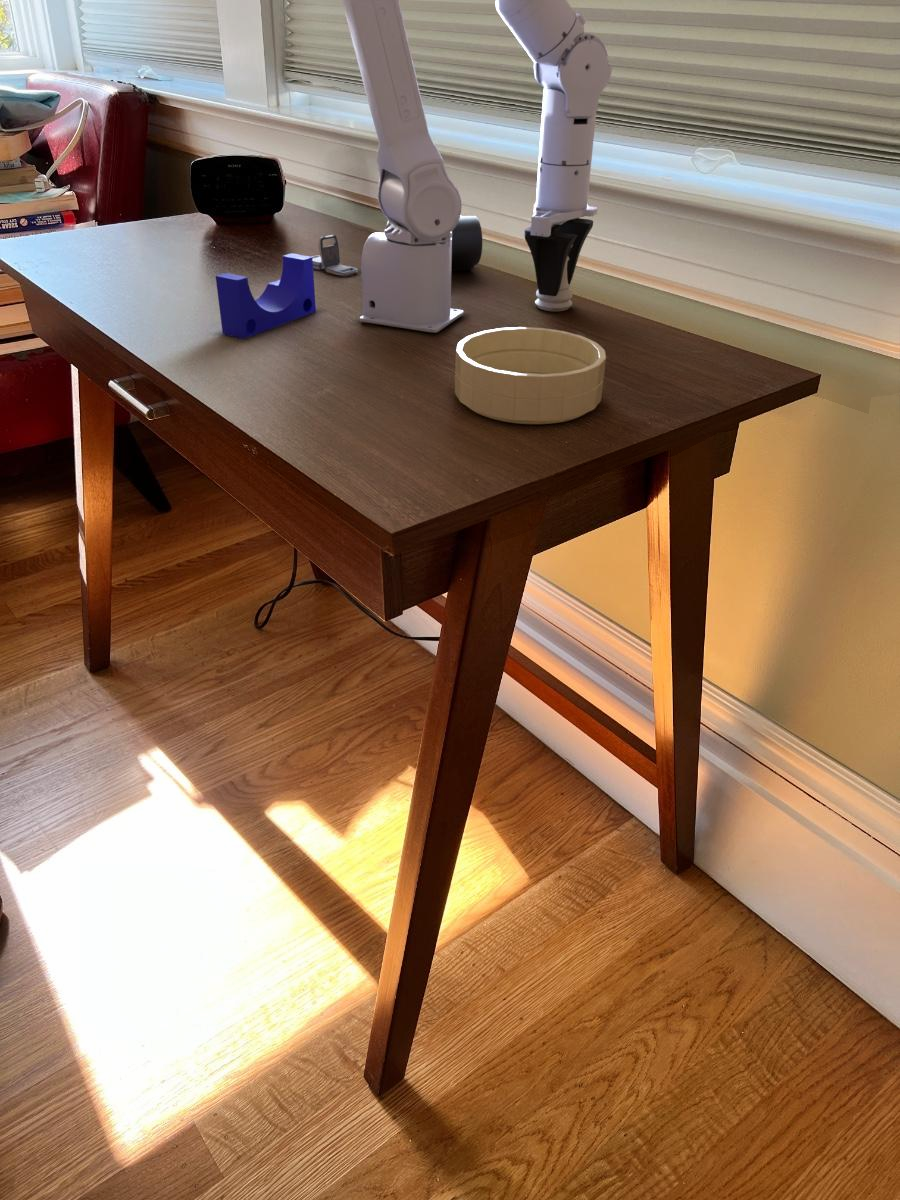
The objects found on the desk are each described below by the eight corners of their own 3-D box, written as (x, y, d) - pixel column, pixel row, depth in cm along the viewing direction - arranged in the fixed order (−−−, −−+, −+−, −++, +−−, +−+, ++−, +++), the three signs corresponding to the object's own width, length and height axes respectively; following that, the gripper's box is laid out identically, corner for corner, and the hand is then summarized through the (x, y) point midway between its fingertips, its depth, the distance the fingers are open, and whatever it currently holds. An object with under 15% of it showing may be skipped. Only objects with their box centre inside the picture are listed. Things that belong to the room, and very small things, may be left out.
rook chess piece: (570, 313, 105) (577, 241, 101) (532, 310, 106) (537, 238, 101) (573, 302, 109) (580, 232, 104) (536, 300, 109) (541, 230, 105)
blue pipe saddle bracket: (285, 305, 106) (281, 251, 102) (315, 311, 104) (312, 257, 101) (212, 331, 97) (204, 273, 94) (243, 338, 95) (237, 280, 92)
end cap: (407, 279, 116) (407, 223, 112) (395, 266, 122) (394, 212, 118) (482, 275, 119) (484, 220, 115) (466, 262, 124) (467, 209, 120)
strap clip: (300, 265, 121) (297, 232, 119) (317, 261, 123) (315, 228, 121) (343, 277, 117) (341, 242, 114) (360, 273, 118) (359, 238, 116)
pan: (431, 411, 80) (432, 361, 77) (486, 365, 90) (488, 319, 87) (575, 437, 76) (580, 386, 73) (616, 386, 86) (622, 339, 83)
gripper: (581, 174, 92) (568, 310, 99) (617, 156, 103) (604, 279, 110) (515, 169, 94) (508, 301, 102) (558, 151, 105) (549, 272, 113)
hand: (554, 289), depth 106 cm, fingers open, 4 cm apart
